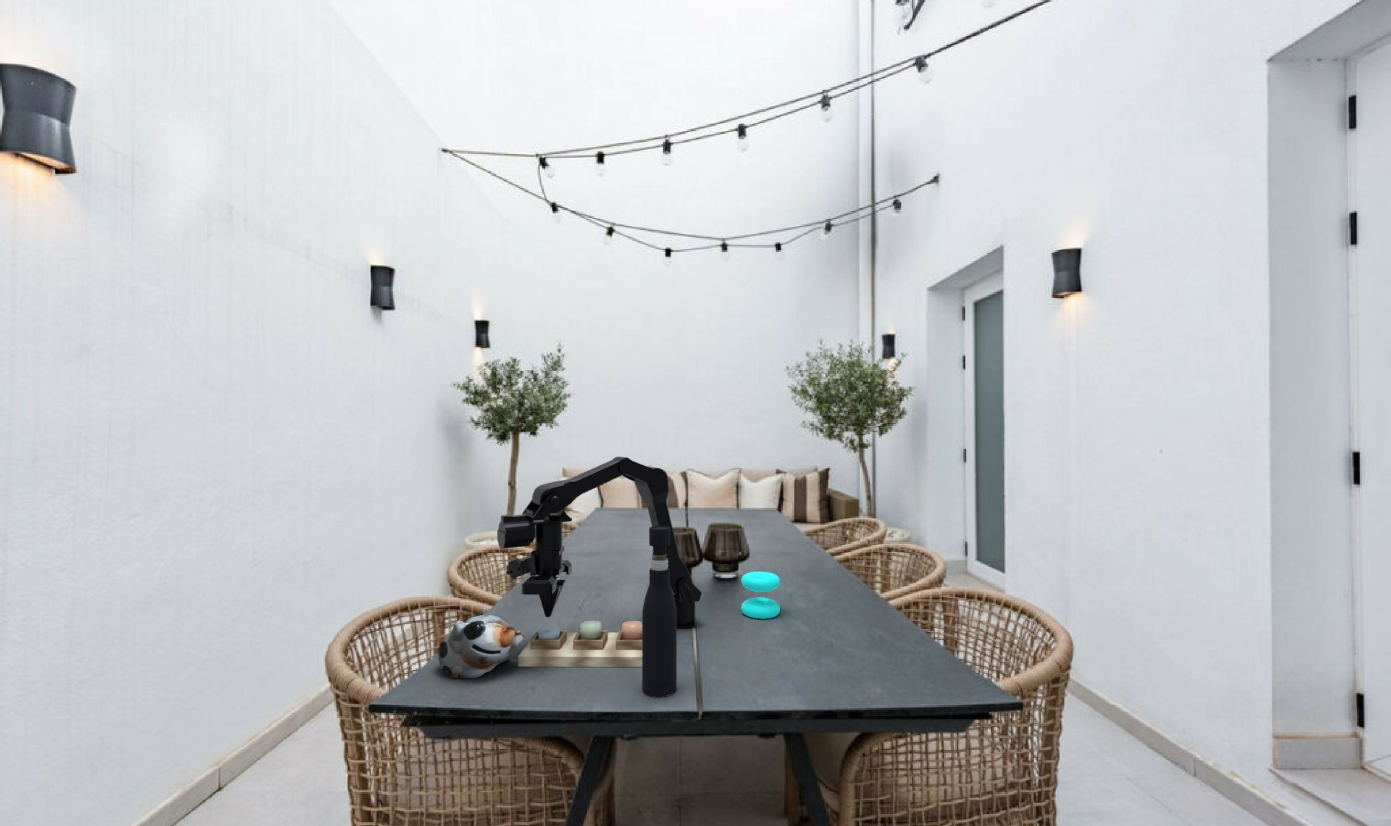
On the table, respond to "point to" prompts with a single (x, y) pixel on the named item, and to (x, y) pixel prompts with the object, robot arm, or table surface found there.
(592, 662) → the button board
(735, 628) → the table surface
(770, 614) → the donuts
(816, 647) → the table surface
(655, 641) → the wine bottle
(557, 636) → the button slate
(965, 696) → the table surface
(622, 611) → the table surface
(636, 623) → the button terracotta
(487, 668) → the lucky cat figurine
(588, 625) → the button sage
